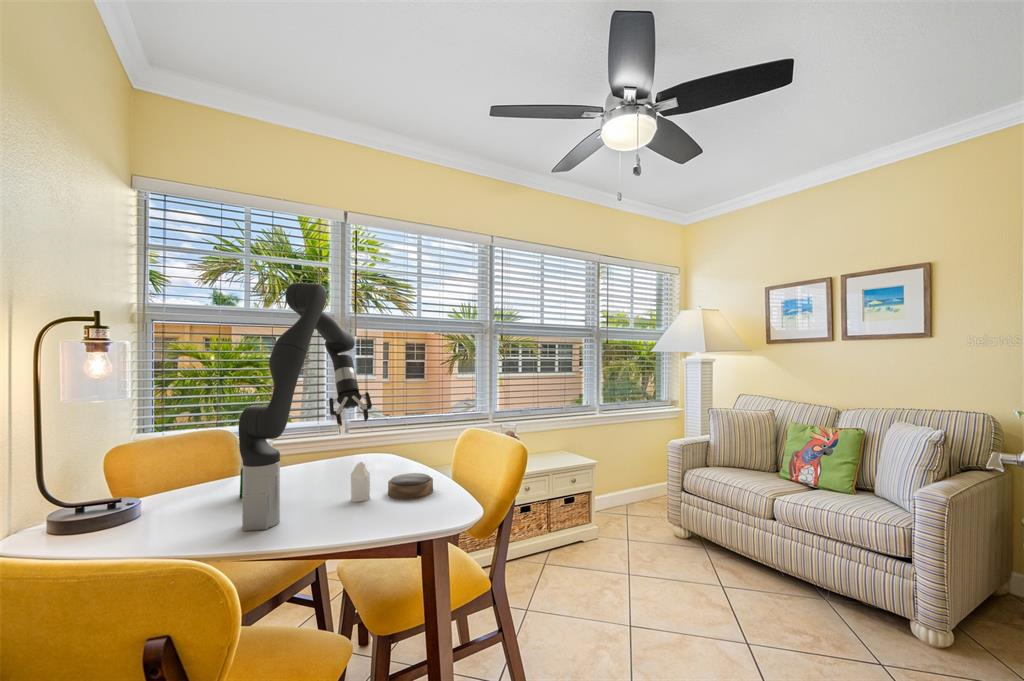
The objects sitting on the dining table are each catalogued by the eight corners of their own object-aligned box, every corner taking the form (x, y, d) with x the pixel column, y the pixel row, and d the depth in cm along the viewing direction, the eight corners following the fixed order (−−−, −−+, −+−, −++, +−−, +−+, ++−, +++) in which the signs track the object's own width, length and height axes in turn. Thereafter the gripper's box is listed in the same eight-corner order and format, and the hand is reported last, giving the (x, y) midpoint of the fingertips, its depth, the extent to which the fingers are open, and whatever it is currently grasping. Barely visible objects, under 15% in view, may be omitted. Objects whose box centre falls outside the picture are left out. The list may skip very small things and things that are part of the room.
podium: (432, 497, 150) (432, 483, 150) (386, 500, 148) (386, 485, 148) (432, 484, 165) (432, 471, 165) (390, 487, 163) (390, 473, 163)
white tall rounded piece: (351, 465, 146) (349, 461, 151) (351, 502, 146) (349, 497, 151) (371, 463, 149) (368, 459, 154) (371, 500, 149) (368, 495, 154)
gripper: (325, 380, 163) (332, 423, 156) (367, 374, 169) (375, 415, 162) (325, 389, 169) (332, 430, 162) (365, 383, 175) (373, 422, 168)
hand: (353, 422), depth 162 cm, fingers open, 8 cm apart
